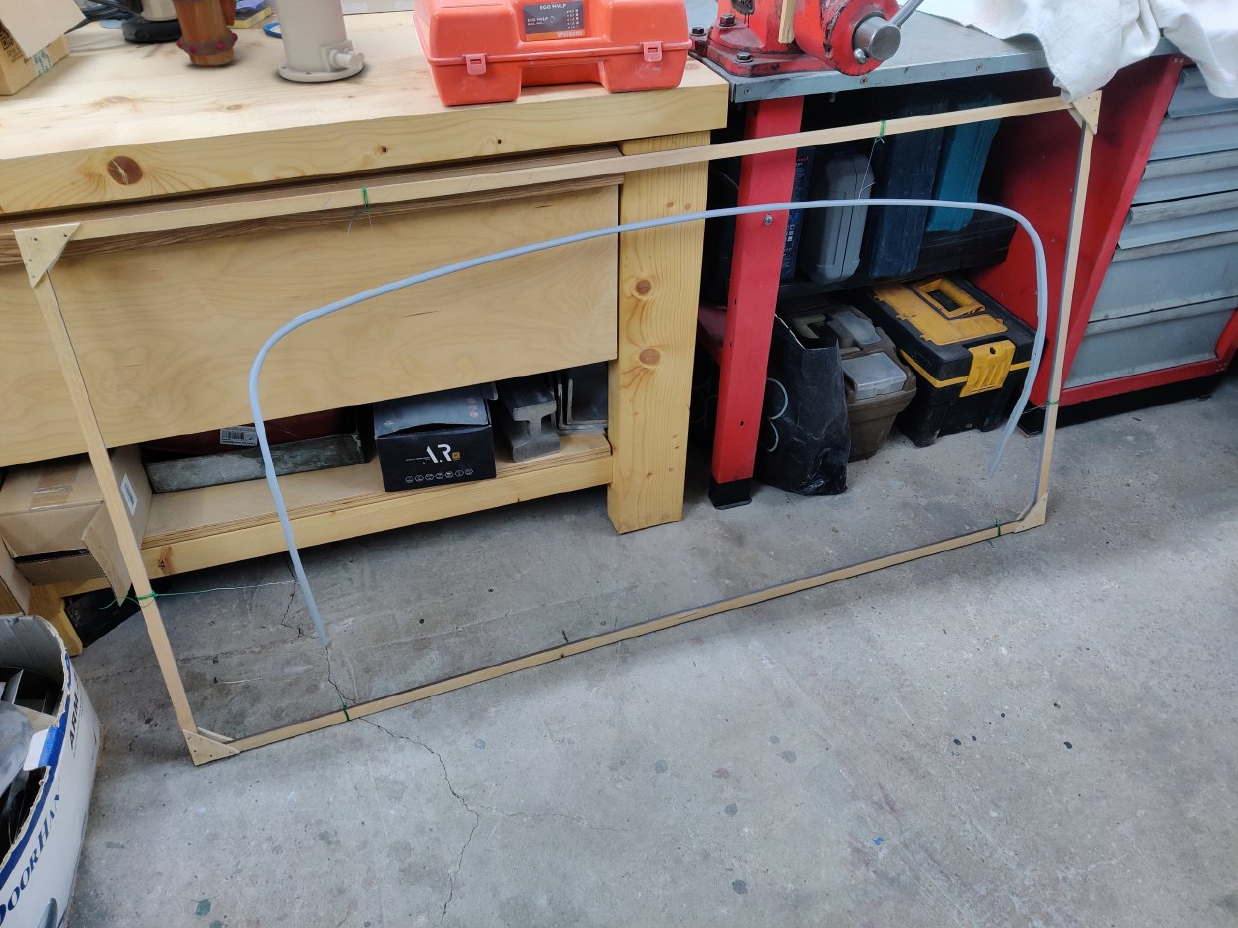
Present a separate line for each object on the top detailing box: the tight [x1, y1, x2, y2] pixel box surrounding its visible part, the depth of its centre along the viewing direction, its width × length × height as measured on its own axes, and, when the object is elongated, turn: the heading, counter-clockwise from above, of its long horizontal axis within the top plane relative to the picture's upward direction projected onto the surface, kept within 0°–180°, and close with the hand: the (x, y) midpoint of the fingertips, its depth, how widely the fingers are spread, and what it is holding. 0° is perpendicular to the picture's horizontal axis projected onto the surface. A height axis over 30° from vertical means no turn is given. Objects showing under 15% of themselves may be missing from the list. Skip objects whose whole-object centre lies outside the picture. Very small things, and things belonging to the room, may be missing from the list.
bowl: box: [139, 0, 178, 21], centre depth 150 cm, size 7×7×4 cm
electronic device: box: [120, 15, 183, 42], centre depth 152 cm, size 9×6×15 cm
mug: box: [171, 0, 239, 67], centre depth 138 cm, size 15×8×15 cm, turn 168°
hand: (162, 6), depth 150 cm, fingers open, 9 cm apart
